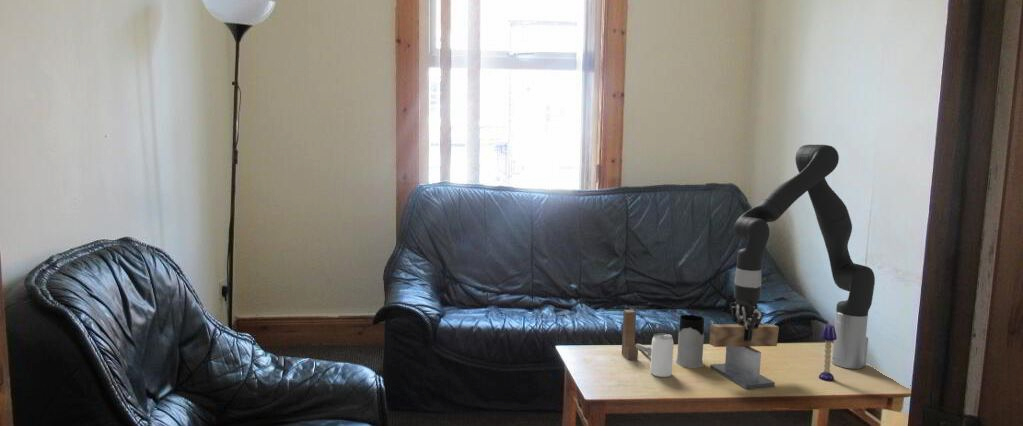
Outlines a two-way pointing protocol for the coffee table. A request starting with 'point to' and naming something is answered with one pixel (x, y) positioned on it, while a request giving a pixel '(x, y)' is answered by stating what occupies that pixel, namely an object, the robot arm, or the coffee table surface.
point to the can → (662, 355)
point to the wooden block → (629, 335)
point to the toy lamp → (827, 350)
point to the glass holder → (690, 341)
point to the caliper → (644, 348)
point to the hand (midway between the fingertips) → (744, 339)
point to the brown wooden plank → (742, 335)
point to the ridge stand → (743, 368)
